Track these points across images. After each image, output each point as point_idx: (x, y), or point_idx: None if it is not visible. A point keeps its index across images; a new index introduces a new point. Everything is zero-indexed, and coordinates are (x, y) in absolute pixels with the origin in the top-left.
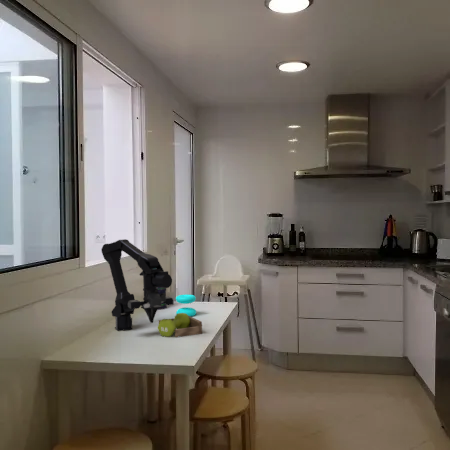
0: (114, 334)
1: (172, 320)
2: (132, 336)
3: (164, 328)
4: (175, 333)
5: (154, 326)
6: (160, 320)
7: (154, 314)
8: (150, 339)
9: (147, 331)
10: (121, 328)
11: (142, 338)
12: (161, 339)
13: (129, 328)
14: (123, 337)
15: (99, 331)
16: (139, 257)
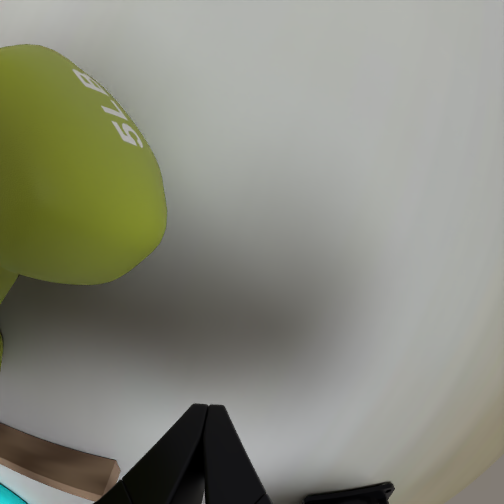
0: (452, 426)
1: (23, 459)
2: (413, 330)
3: (99, 99)
4: None
5: None
6: (95, 494)
7: (127, 493)
8: (320, 101)
9: None
10: (370, 499)
11: (377, 198)
12: (212, 36)
13: (325, 498)
14: (469, 330)
15: (449, 485)
16: None
